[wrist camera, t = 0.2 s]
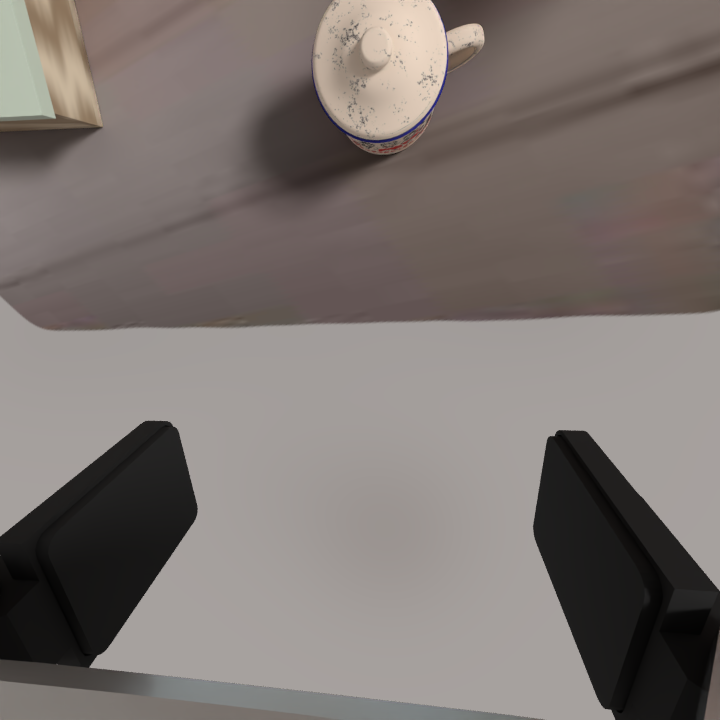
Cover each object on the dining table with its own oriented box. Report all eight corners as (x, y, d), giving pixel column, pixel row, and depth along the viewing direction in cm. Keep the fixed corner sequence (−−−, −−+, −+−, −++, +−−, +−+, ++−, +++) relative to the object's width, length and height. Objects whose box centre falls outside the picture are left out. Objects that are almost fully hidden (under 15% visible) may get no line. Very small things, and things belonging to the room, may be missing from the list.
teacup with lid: (352, 173, 35) (329, 156, 24) (319, 61, 32) (276, -13, 22) (482, 124, 33) (520, 81, 22) (458, -2, 30) (488, -123, 19)
